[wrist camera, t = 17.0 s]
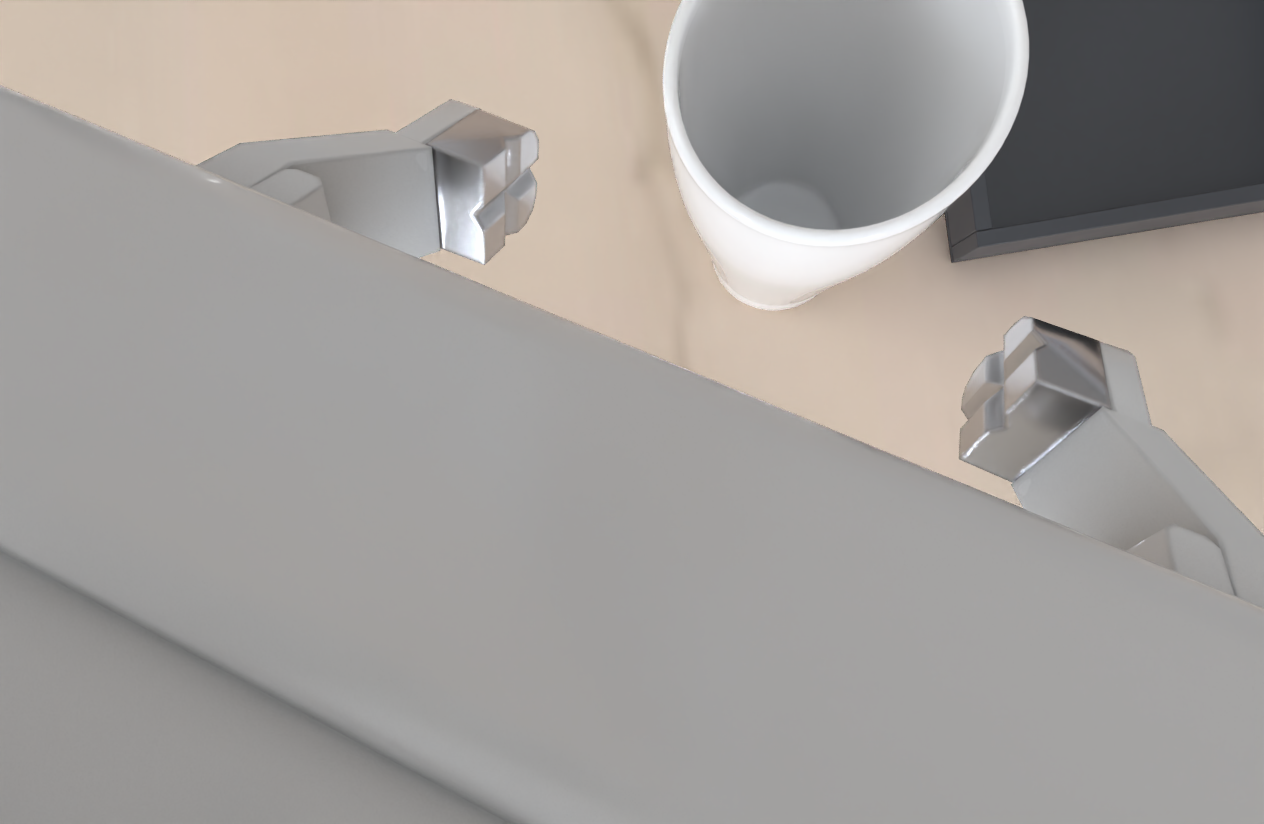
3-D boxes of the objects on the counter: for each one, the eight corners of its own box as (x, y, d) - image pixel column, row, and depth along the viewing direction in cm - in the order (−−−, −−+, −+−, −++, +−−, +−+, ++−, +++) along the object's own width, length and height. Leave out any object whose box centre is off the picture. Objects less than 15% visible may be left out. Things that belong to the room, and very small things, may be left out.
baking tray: (899, -122, 25) (920, -184, 22) (1299, -224, 23) (1375, -305, 20) (951, 262, 25) (977, 247, 23) (1353, 197, 23) (1435, 171, 20)
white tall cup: (714, 156, 26) (701, -145, 12) (875, 184, 26) (1083, -105, 11) (678, 311, 27) (622, 212, 12) (835, 344, 26) (983, 281, 11)
